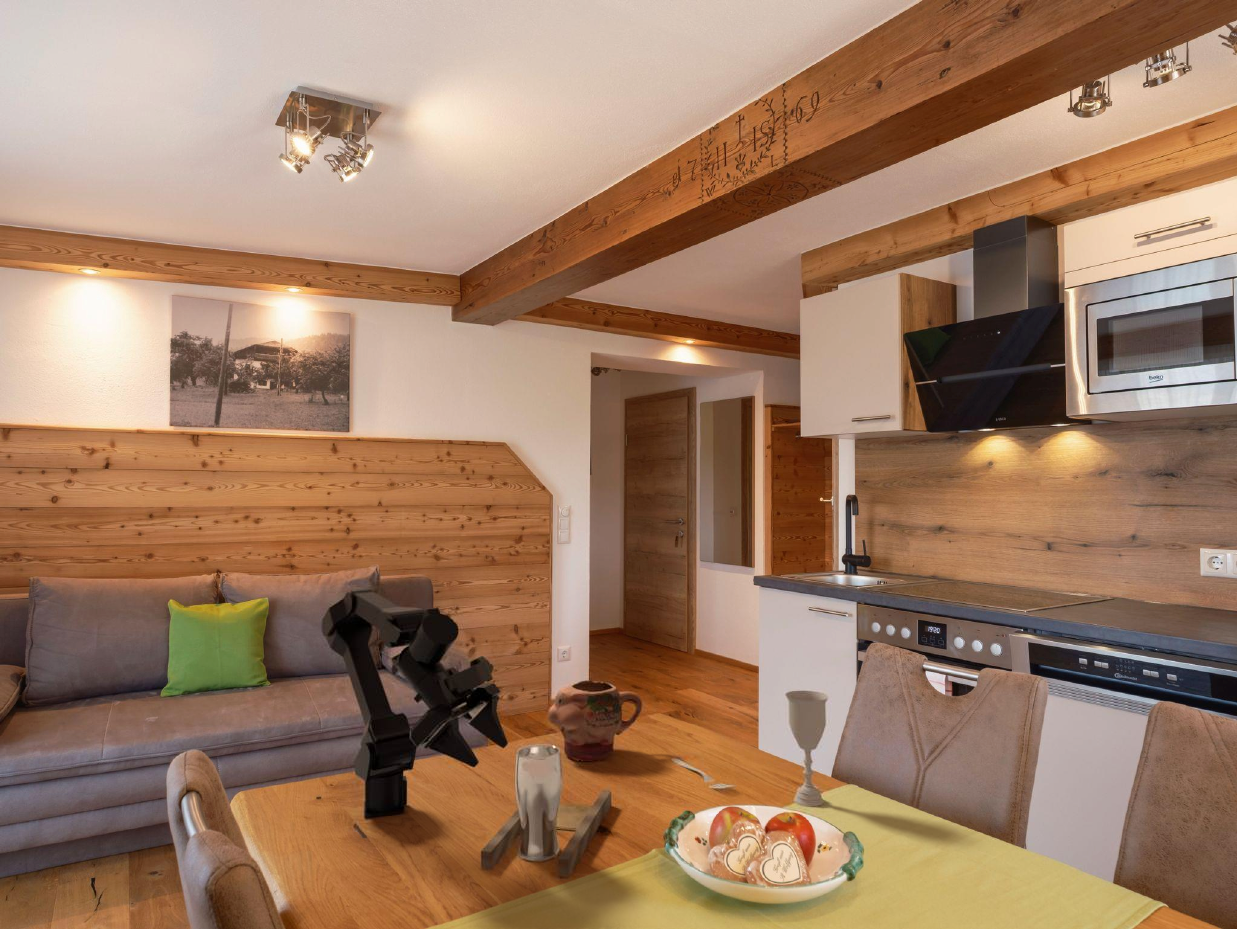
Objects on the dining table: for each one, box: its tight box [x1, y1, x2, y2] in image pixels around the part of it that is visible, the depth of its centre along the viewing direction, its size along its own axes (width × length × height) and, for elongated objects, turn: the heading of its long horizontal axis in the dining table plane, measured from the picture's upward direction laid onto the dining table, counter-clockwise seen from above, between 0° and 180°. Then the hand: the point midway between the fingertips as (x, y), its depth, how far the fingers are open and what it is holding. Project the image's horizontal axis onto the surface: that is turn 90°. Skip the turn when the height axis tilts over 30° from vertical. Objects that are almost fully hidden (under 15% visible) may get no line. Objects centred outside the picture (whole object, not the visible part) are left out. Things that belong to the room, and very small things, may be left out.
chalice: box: [785, 690, 829, 807], centre depth 138 cm, size 7×7×18 cm
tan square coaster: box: [557, 803, 593, 832], centre depth 132 cm, size 9×10×1 cm
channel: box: [480, 789, 612, 878], centre depth 125 cm, size 26×13×2 cm, turn 167°
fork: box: [671, 757, 737, 790], centre depth 152 cm, size 3×24×2 cm, turn 25°
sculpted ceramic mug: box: [547, 680, 643, 762], centre depth 164 cm, size 20×12×14 cm, turn 113°
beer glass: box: [514, 743, 563, 863], centre depth 119 cm, size 7×7×15 cm
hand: (491, 755), depth 122 cm, fingers open, 9 cm apart
